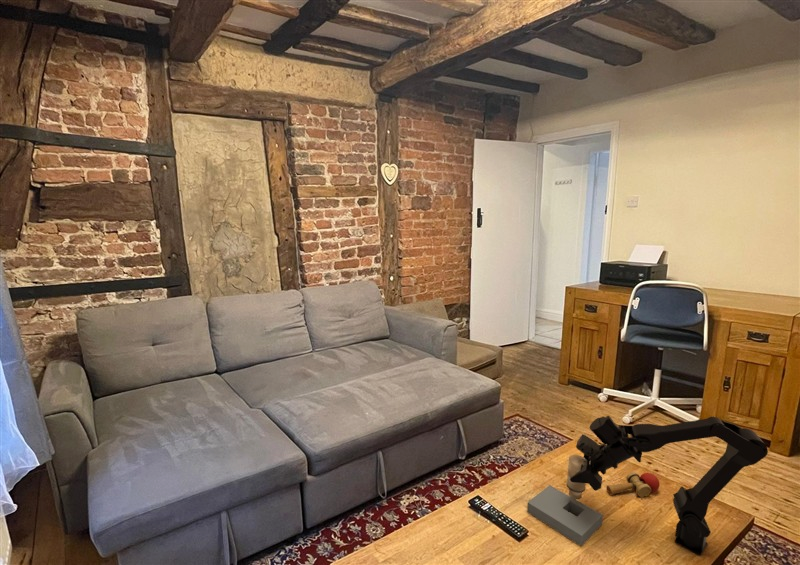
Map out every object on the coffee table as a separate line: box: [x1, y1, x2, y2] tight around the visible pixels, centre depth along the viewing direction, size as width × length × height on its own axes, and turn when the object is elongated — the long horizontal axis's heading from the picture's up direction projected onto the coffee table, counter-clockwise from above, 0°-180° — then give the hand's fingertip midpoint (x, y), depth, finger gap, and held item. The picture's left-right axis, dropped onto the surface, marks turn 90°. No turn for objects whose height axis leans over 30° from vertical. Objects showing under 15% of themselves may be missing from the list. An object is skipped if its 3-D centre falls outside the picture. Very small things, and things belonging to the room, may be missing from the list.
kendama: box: [606, 472, 660, 498], centre depth 143 cm, size 8×6×18 cm
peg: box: [566, 454, 587, 500], centre depth 132 cm, size 6×6×12 cm
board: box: [526, 484, 604, 547], centre depth 131 cm, size 18×13×4 cm
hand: (572, 475), depth 133 cm, fingers closed on peg, 5 cm apart
